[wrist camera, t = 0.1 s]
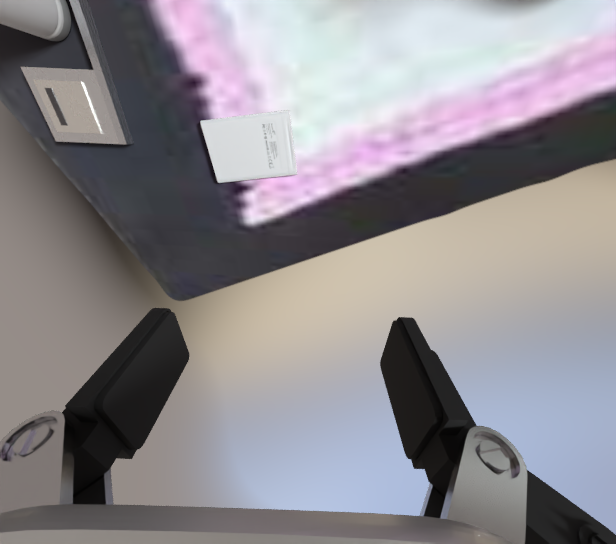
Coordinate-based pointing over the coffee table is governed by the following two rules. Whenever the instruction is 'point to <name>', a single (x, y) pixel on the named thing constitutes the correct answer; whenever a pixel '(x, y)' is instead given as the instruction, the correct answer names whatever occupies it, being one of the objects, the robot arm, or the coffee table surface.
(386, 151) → the coffee table surface
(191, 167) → the coffee table surface
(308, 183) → the coffee table surface
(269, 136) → the external hard drive
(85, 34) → the panel
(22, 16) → the travel mug
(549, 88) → the coffee table surface
